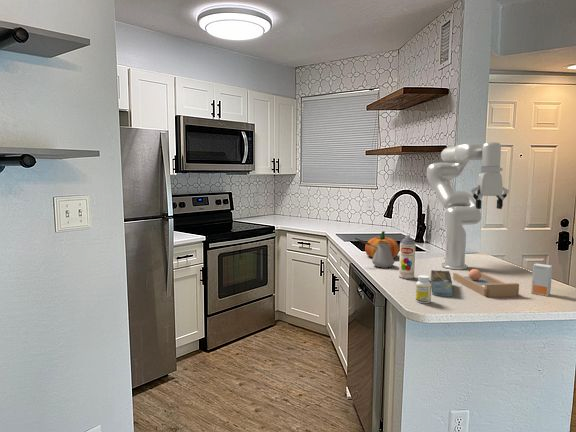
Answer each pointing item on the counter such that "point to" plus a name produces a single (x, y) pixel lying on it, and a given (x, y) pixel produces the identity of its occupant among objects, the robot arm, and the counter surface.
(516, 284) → the lane
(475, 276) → the ball
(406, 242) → the aerosol can
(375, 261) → the coffee pot
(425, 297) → the supplement bottle
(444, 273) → the beverage carton
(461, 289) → the counter surface
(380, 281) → the counter surface
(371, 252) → the pumpkin
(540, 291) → the skincare box
